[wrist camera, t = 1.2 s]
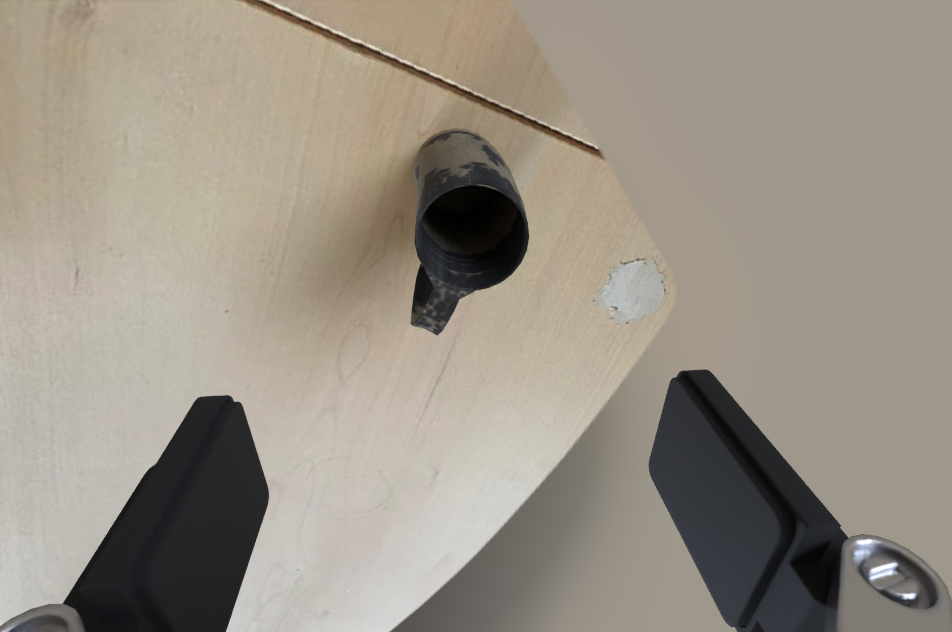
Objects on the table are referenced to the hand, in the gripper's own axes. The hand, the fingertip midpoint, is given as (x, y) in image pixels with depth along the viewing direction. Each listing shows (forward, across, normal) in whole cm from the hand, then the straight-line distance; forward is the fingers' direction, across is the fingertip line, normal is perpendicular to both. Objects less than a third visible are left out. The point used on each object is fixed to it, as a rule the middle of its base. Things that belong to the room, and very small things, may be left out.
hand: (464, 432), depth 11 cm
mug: (+23, -1, +1) cm, 23 cm away
